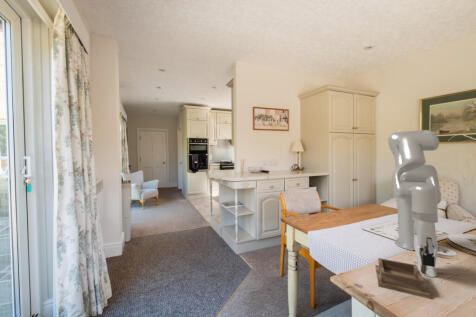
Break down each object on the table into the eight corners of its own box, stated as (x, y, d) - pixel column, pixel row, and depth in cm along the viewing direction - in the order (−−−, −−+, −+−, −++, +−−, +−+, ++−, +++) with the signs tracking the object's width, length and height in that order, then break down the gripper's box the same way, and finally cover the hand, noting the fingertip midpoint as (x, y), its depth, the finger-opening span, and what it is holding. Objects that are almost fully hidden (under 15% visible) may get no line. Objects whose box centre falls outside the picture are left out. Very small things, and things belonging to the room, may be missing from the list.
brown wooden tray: (375, 267, 85) (375, 256, 85) (419, 276, 78) (418, 264, 78) (378, 286, 73) (378, 273, 73) (430, 298, 66) (430, 284, 66)
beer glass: (443, 278, 76) (442, 238, 76) (422, 277, 78) (420, 238, 77) (430, 268, 83) (429, 232, 83) (410, 267, 84) (409, 231, 84)
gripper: (407, 209, 89) (408, 250, 90) (417, 221, 74) (419, 269, 75) (430, 211, 86) (431, 253, 86) (445, 224, 71) (447, 275, 71)
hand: (425, 260), depth 80 cm, fingers closed on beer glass, 6 cm apart
